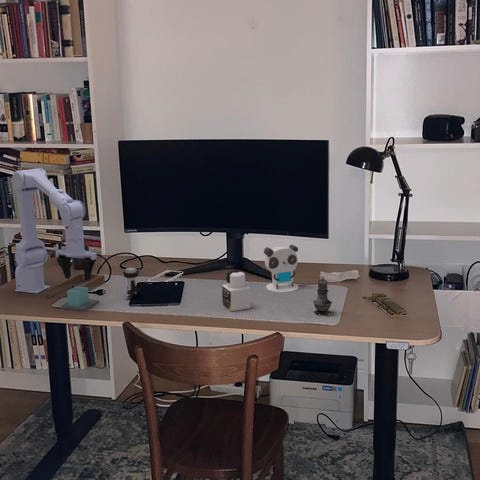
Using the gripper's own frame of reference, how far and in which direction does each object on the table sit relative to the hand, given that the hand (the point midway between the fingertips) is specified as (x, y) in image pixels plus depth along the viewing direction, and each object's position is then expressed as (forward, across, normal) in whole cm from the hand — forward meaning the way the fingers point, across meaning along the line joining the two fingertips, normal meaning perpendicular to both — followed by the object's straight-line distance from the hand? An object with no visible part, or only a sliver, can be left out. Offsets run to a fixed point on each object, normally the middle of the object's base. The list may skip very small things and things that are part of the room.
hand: (77, 278), depth 219 cm
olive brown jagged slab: (+10, +96, +30) cm, 101 cm away
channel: (+9, -11, +14) cm, 20 cm away
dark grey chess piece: (+10, +78, +18) cm, 81 cm away
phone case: (+10, +13, +37) cm, 40 cm away
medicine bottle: (+10, +50, +15) cm, 53 cm away
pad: (+9, 0, 0) cm, 9 cm away
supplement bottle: (+10, -26, +40) cm, 49 cm away
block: (+8, 0, -1) cm, 8 cm away
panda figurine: (+10, +58, +39) cm, 71 cm away
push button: (+10, +12, +13) cm, 20 cm away
